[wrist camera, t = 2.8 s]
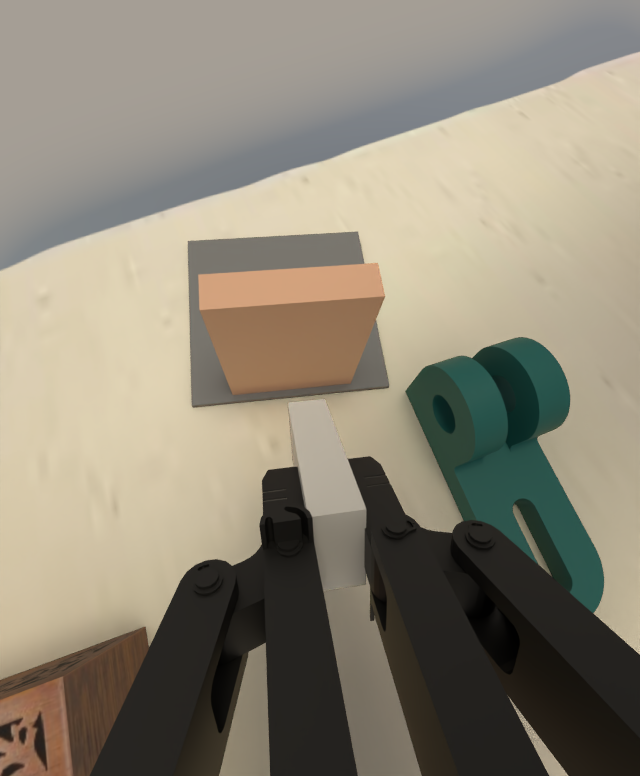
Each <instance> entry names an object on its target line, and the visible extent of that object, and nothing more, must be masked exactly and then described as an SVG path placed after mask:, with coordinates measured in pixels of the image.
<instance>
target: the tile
mask: <svg viewBox="0 0 640 776" xmlns="http://www.w3.org/2000/svg"><path fill="white" fill-rule="evenodd" d="M198 280H199V310H200V313H201V315H202V318H203V320H204V323H205V325H206V328H207V331H208V333H209V336H210V338H211V341H212V343H213V346H214V349H215V351H216V354H217V356H218V359H219V361H220V364H221V366H222V369H223V372H224V374H225V377H226V379H227V382H228V384H229V387H230V389H231V392H232V395H240V394H250V393H261V392H271V391H281V390H291V389H301V388H311V387H321V386H331V385H342V384H351V381H352V379H353V376H354V374H355V371H356V369H357V366H358V364H359V361H360V358H361V356H362V353H363V351H364V348H365V346H366V343H367V341H368V338H369V336H370V333H371V331H372V328H373V326H374V323H375V321H376V318H377V315H378V313H379V310H380V308H381V305H382V303H383V300H384V298H385V294H384V289H383V284H382V280H381V275H380V271H379V266H378V263H370V264H354V265H339V266H323V267H308V268H293V269H277V270H262V271H246V272H231V273H215V274H200V275H198Z"/></svg>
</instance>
